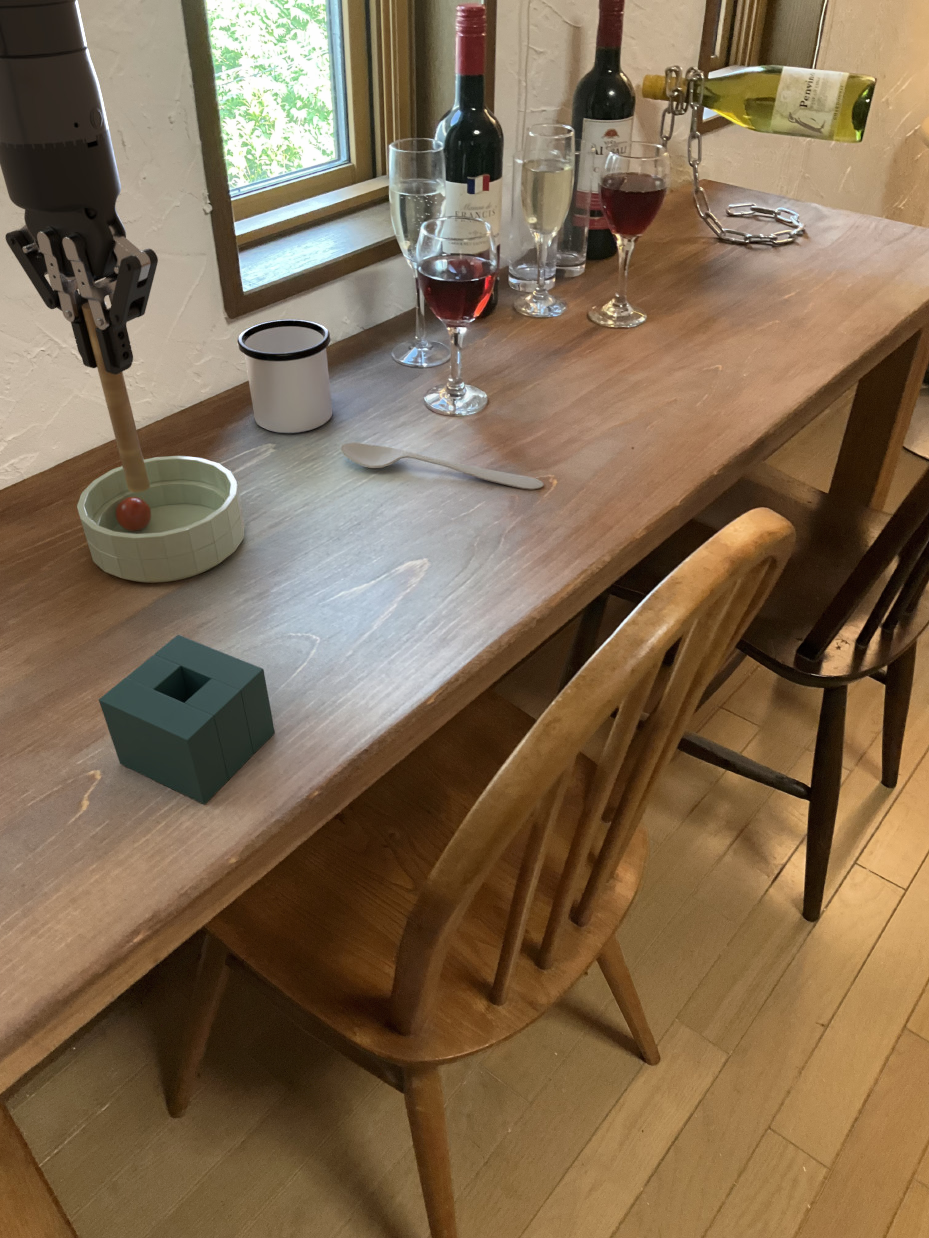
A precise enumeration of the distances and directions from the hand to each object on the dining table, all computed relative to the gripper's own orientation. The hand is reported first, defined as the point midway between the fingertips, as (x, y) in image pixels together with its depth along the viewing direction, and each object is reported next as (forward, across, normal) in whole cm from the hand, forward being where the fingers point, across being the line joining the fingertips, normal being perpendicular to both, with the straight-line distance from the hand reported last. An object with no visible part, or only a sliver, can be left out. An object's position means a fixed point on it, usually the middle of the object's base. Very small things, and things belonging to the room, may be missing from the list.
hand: (109, 366), depth 76 cm
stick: (+11, 0, 0) cm, 11 cm away
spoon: (+16, +17, +22) cm, 32 cm away
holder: (+16, +21, -18) cm, 32 cm away
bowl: (+16, +2, 0) cm, 16 cm away
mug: (+16, -3, +26) cm, 31 cm away
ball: (+14, -1, 0) cm, 14 cm away
